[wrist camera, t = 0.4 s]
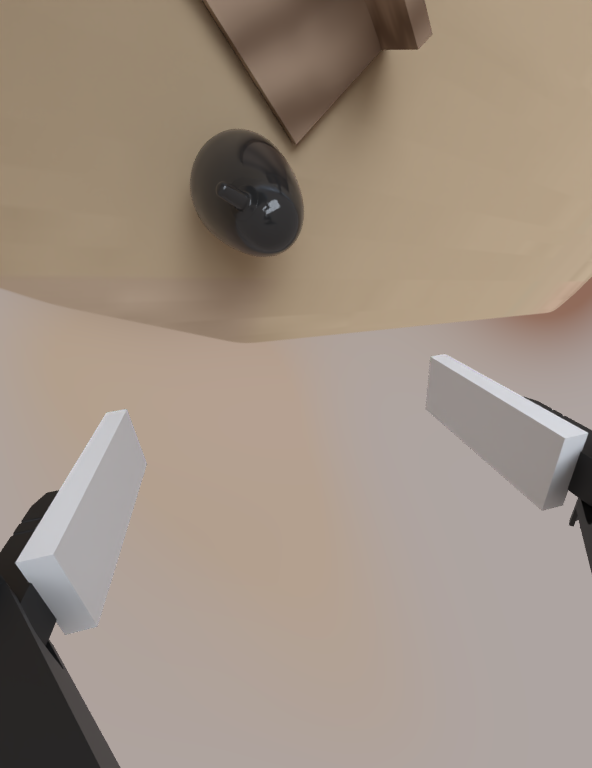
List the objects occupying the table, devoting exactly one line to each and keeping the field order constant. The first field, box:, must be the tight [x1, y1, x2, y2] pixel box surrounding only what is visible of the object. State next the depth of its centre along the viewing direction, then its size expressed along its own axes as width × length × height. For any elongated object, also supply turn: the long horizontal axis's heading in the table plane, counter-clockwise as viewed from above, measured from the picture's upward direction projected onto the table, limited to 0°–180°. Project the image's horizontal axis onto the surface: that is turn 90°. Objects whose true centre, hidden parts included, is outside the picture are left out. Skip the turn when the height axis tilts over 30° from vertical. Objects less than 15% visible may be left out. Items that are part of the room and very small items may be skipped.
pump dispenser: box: [190, 129, 304, 257], centre depth 31 cm, size 10×10×15 cm
